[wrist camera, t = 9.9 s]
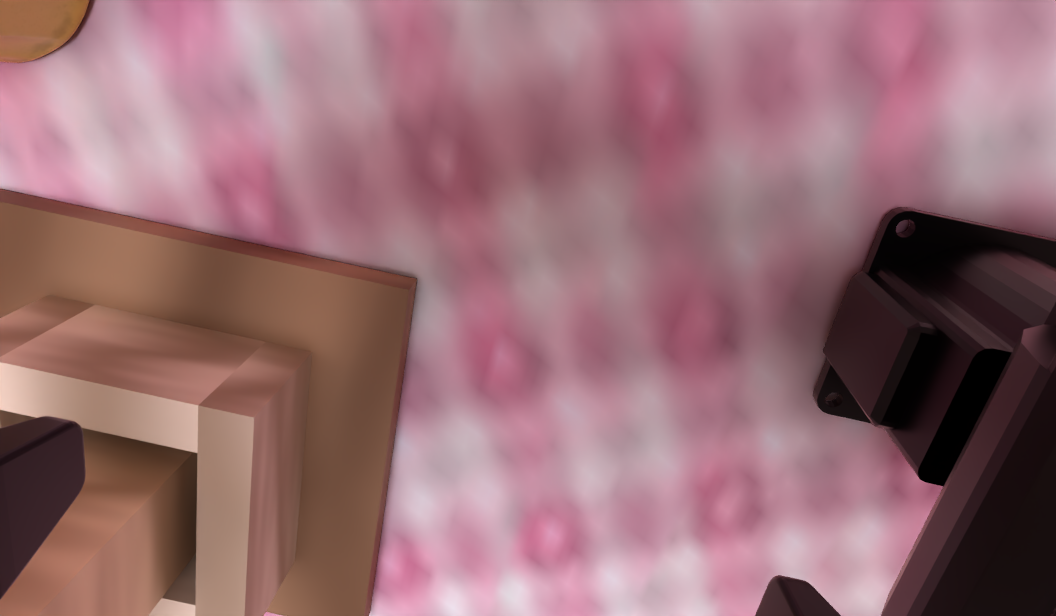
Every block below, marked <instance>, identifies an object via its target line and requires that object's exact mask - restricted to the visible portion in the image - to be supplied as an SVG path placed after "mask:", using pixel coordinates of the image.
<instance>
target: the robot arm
mask: <svg viewBox="0 0 1056 616" xmlns="http://www.w3.org/2000/svg"><path fill="white" fill-rule="evenodd" d="M903 220H909V227H908V229H907V230H906V231H905V232H903V233H896V226H897V225H898V223H899V222H901V221H903ZM823 353H824V354H825V356H826V358H827V359H826V362H825V364H824V367H823V369H822V372H821V374H820V377H819V379H818V382H817V384H816V386H815V389H814V393H813V397H814V400H815V402H816V404H817V406H818V407H819V408H820V409H821V410H822V411H823V412H825V413H827V414H831V415H836V416H840V417H845V418H850V419H854V420H859V421H863V422H868V423H872V424H873V425H874V426H876V427H881V428H884V430H885V431H886V432H887V434H888V435H889V437H890V438H891V439H892V441H893V442H894V443H895V445H896V446H897V448H898V449H899V450H900V452H901V453H902V455H903V456H904V457H905V459H906V460H907V462H908V463H909V464H910V466H911V467H912V469H913V470H914V471H915V473H916V474H917V476H918V477H919V478H920V480H922V481H924V482H927V483H931V484H936V485H941V486H944V487H943V489H942V491H941V493H940V495H939V497H938V499H937V500H936V502H935V504H934V506H933V508H932V510H931V512H930V514H929V516H928V518H927V520H926V522H925V524H924V526H923V528H922V530H921V532H920V534H919V536H918V538H917V540H916V542H915V544H914V546H913V548H912V550H911V551H910V553H909V555H908V557H907V559H906V561H905V563H904V565H903V567H902V569H901V571H900V573H899V575H898V577H897V579H896V581H895V583H894V585H893V587H892V589H891V591H890V593H889V595H888V598H887V600H886V603H885V606H884V609H883V611H882V614H881V616H1056V239H1052V238H1047V237H1043V236H1038V235H1033V234H1029V233H1024V232H1019V231H1014V230H1010V229H1005V228H1000V227H996V226H991V225H986V224H982V223H977V222H972V221H967V220H963V219H958V218H953V217H949V216H944V215H939V214H935V213H930V212H925V211H920V210H916V209H911V208H902V207H899V208H896V209H894V210H892V211H890V212H889V213H888V214H886V216H885V217H884V219H883V220H882V223H881V225H880V228H879V230H878V233H877V235H876V237H875V240H874V242H873V245H872V247H871V250H870V252H869V255H868V257H867V260H866V262H865V265H864V267H863V270H862V271H861V272H859V273H858V274H856V275H855V276H853V277H852V278H851V280H850V283H849V285H848V288H847V291H846V293H845V296H844V298H843V301H842V303H841V306H840V308H839V311H838V313H837V316H836V318H835V321H834V323H833V326H832V328H831V331H830V333H829V336H828V338H827V341H826V343H825V346H824V348H823ZM831 393H838V396H837V397H836V399H834V400H832V401H826V400H825V399H826V397H827V396H828V395H829V394H831ZM85 476H86V469H85V453H84V438H83V430H82V428H81V426H80V425H79V424H78V423H77V422H75V421H71V420H67V419H62V418H57V417H53V416H42V417H38V418H34V419H31V420H27V421H24V422H20V423H17V424H13V425H10V426H6V427H3V428H0V599H1V598H2V597H3V596H4V595H5V593H6V592H7V591H8V589H9V588H10V587H11V586H12V584H13V583H14V582H15V581H16V579H17V578H18V577H19V575H20V574H21V572H22V571H23V570H24V568H25V567H26V566H27V564H28V563H29V562H30V560H31V559H32V557H33V556H34V555H35V553H36V552H37V551H38V549H39V548H40V547H41V545H42V544H43V543H44V541H45V540H46V538H47V537H48V536H49V534H50V533H51V532H52V530H53V529H54V528H55V526H56V525H57V523H58V522H59V521H60V519H61V518H62V517H63V515H64V514H65V513H66V511H67V510H68V509H69V507H70V506H71V504H72V503H73V502H74V500H75V499H76V498H77V496H78V495H79V493H80V491H81V489H82V487H83V485H84V482H85ZM755 616H841V615H840V614H839V613H838V612H837V611H836V610H835V609H834V608H833V607H832V606H831V605H830V604H829V603H828V602H827V601H826V600H825V599H824V598H823V597H822V596H821V595H820V594H819V593H818V592H817V590H816V589H815V588H814V587H813V586H812V585H810V584H809V583H808V582H806V581H803V580H799V579H795V578H790V577H785V576H781V575H778V576H775V577H773V578H772V579H771V581H770V582H769V584H768V586H767V589H766V591H765V593H764V596H763V598H762V600H761V603H760V605H759V608H758V610H757V612H756V615H755Z"/></svg>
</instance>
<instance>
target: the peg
mask: <svg viewBox="0 0 1056 616" xmlns="http://www.w3.org/2000/svg"><path fill="white" fill-rule="evenodd" d="M82 430H83V438H84V453H85V469H86V476H85V482H84V485H83V487H82V489H81V491H80V493H79V495H78V496H77V498H76V499H75V500H74V502H73V503H72V504H71V506H70V507H69V509H68V510H67V511H66V513H65V514H64V515H63V517H62V518H61V519H60V521H59V522H58V523H57V525H56V526H55V528H54V529H53V530H52V532H51V533H50V534H49V536H48V537H47V538H46V540H45V541H44V543H43V544H42V545H41V547H40V548H39V549H38V551H37V552H36V553H35V555H34V556H33V557H32V559H31V560H30V562H29V563H28V564H27V566H26V567H25V568H24V570H23V571H22V572H21V574H20V575H19V577H18V578H17V579H16V581H15V582H14V583H13V584H12V586H11V587H10V588H9V589H8V591H7V592H6V593H5V595H4V596H3V597H2V598H1V599H0V616H148V615H149V614H150V613H151V611H152V610H153V609H154V607H155V606H156V605H157V604H158V602H159V601H160V600H161V598H162V597H163V596H164V594H165V593H166V592H167V591H168V589H169V588H170V587H171V585H172V584H173V583H174V581H175V580H176V579H177V577H178V576H179V575H180V574H181V572H182V571H183V570H184V568H185V567H186V566H187V564H188V563H189V562H190V560H191V559H192V558H193V557H194V555H195V554H196V529H197V454H198V453H195V452H190V451H186V450H181V449H177V448H172V447H167V446H163V445H158V444H154V443H149V442H145V441H140V440H136V439H131V438H127V437H122V436H117V435H113V434H108V433H104V432H99V431H95V430H90V429H86V428H82Z"/></svg>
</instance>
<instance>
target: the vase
mask: <svg viewBox="0 0 1056 616" xmlns="http://www.w3.org/2000/svg"><path fill="white" fill-rule="evenodd" d="M88 4H89V0H0V62H13V63H21V62H27V61H32V60H35V59H37V58H40V57H42V56H44V55H46V54H48V53H50V52H52V51H54V50H55V49H57V48H59V47H60V46H62V45H63V44H64V43H65V42H67V41H68V40H69V39H70V38H71V36H72V35H73V34H74V33H75V31H76V30H77V28H78V26H79V25H80V23H81V21H82V19H83V17H84V15H85V13H86V10H87V7H88Z"/></svg>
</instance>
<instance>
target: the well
mask: <svg viewBox="0 0 1056 616" xmlns="http://www.w3.org/2000/svg"><path fill="white" fill-rule="evenodd" d="M416 284H417V279H415V278H411V277H406V276H401V275H397V274H392V273H387V272H383V271H378V270H373V269H369V268H364V267H360V266H355V265H350V264H346V263H341V262H336V261H332V260H327V259H323V258H318V257H313V256H309V255H304V254H299V253H295V252H290V251H286V250H281V249H276V248H272V247H267V246H262V245H258V244H253V243H249V242H244V241H239V240H235V239H230V238H225V237H221V236H216V235H211V234H207V233H202V232H198V231H193V230H188V229H184V228H179V227H174V226H170V225H165V224H161V223H156V222H151V221H147V220H142V219H137V218H133V217H128V216H124V215H119V214H114V213H110V212H105V211H100V210H96V209H91V208H87V207H82V206H77V205H73V204H68V203H63V202H59V201H54V200H49V199H45V198H40V197H36V196H31V195H26V194H22V193H17V192H12V191H8V190H3V189H0V428H3V427H6V426H10V425H13V424H17V423H20V422H24V421H27V420H31V419H34V418H38V417H42V416H53V417H57V418H62V419H67V420H71V421H75V422H77V423H78V424H79V425H80V426H81V428H86V429H90V430H95V431H99V432H104V433H108V434H113V435H117V436H122V437H127V438H131V439H136V440H140V441H145V442H149V443H154V444H158V445H163V446H167V447H172V448H177V449H181V450H186V451H190V452H195V453H198V454H197V529H196V554H195V555H194V557H193V558H192V559H191V560H190V562H189V563H188V564H187V566H186V567H185V568H184V570H183V571H182V572H181V574H180V575H179V576H178V577H177V579H176V580H175V581H174V583H173V584H172V585H171V587H170V588H169V589H168V591H167V592H166V593H165V594H164V596H163V597H162V598H161V600H160V601H159V602H158V604H157V605H156V606H155V607H154V609H153V610H152V611H151V613H150V614H149V615H148V616H264V614H265V612H270V613H274V614H279V615H283V616H369V613H370V608H371V601H372V594H373V587H374V580H375V573H376V566H377V559H378V552H379V545H380V538H381V531H382V524H383V516H384V509H385V502H386V495H387V488H388V481H389V474H390V467H391V460H392V453H393V446H394V439H395V432H396V425H397V418H398V411H399V404H400V396H401V389H402V382H403V375H404V368H405V361H406V354H407V347H408V340H409V333H410V326H411V319H412V312H413V305H414V298H415V291H416Z"/></svg>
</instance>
